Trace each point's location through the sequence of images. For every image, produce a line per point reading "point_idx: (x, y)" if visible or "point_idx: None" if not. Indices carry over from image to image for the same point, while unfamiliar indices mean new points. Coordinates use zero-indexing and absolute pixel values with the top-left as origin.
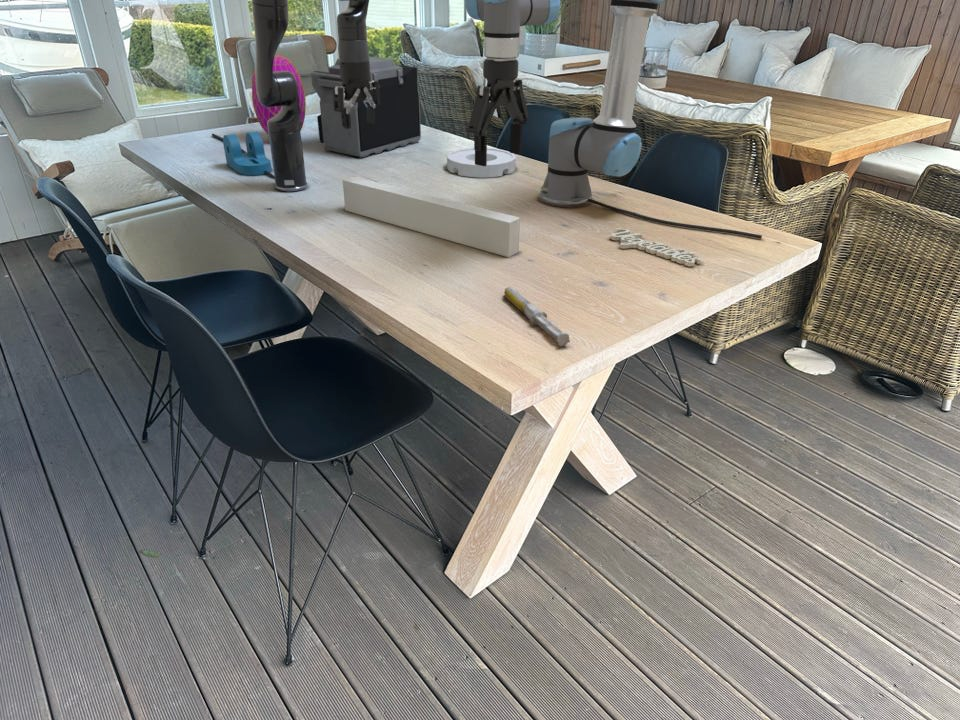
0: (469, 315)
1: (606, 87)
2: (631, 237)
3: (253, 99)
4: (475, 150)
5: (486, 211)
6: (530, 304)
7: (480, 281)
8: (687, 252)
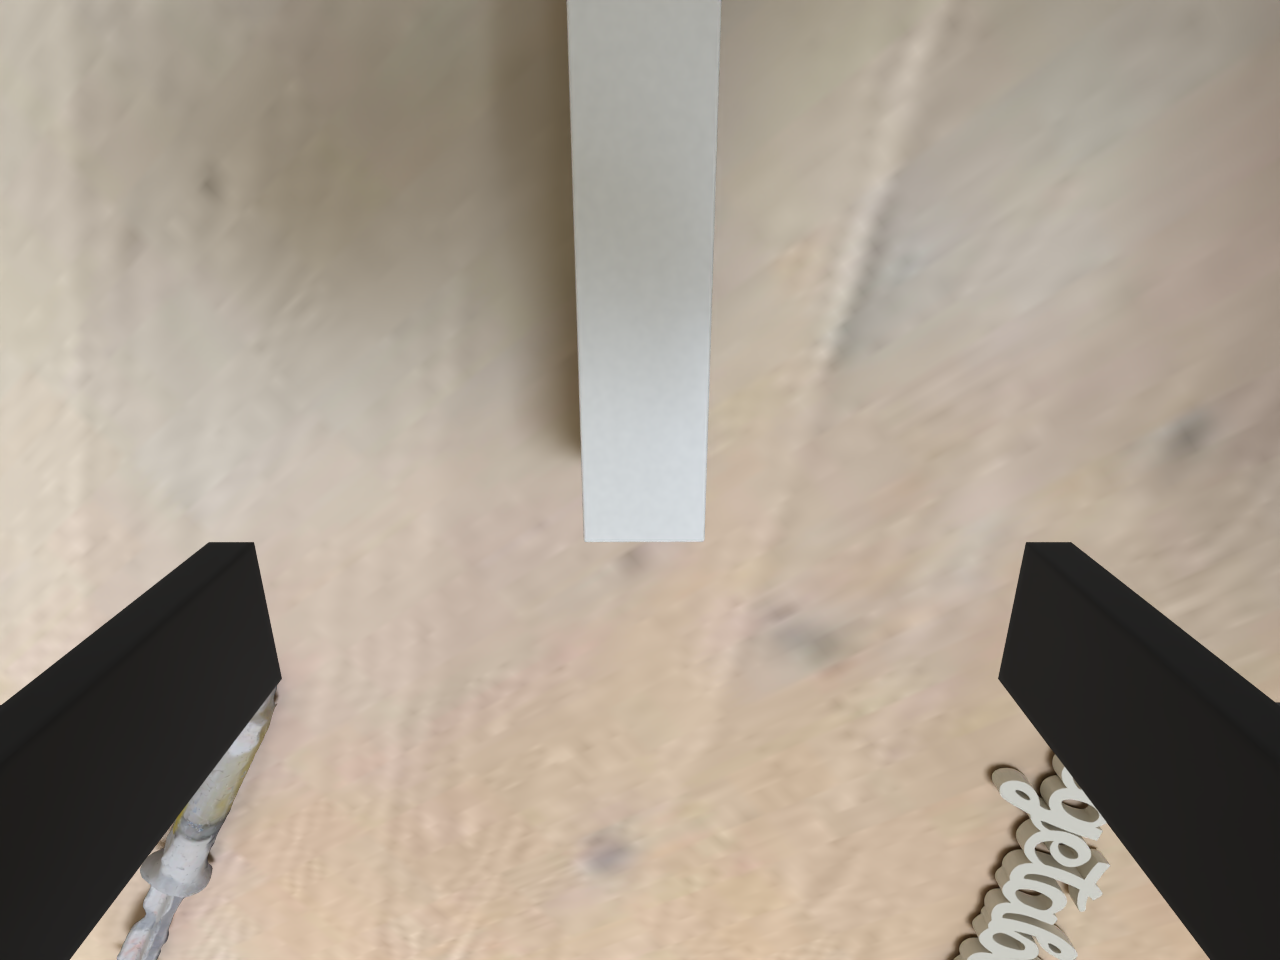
0: (42, 666)
1: None
2: None
3: None
4: (82, 655)
5: (672, 290)
6: (185, 847)
7: (290, 524)
8: None
